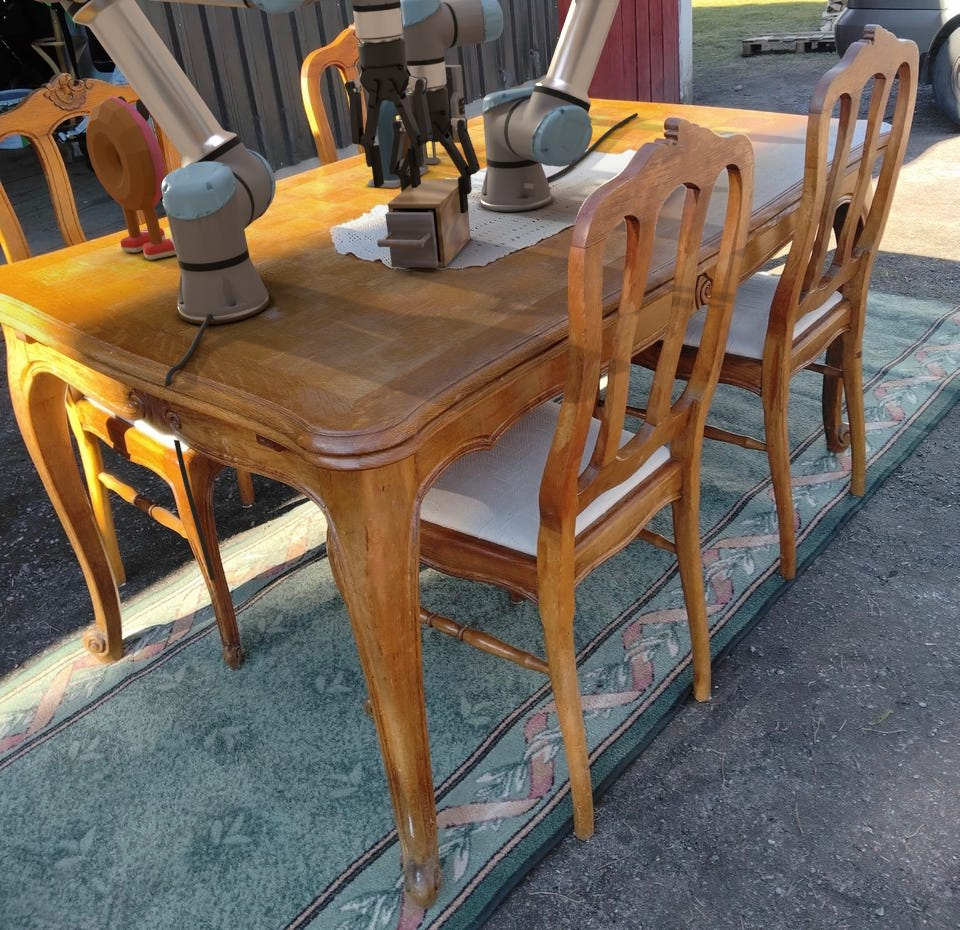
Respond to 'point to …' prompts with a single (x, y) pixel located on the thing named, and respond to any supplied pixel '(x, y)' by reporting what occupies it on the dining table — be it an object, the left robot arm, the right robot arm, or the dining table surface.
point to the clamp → (387, 133)
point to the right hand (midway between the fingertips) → (438, 210)
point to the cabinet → (439, 213)
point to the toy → (130, 170)
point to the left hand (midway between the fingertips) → (397, 185)
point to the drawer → (412, 237)
